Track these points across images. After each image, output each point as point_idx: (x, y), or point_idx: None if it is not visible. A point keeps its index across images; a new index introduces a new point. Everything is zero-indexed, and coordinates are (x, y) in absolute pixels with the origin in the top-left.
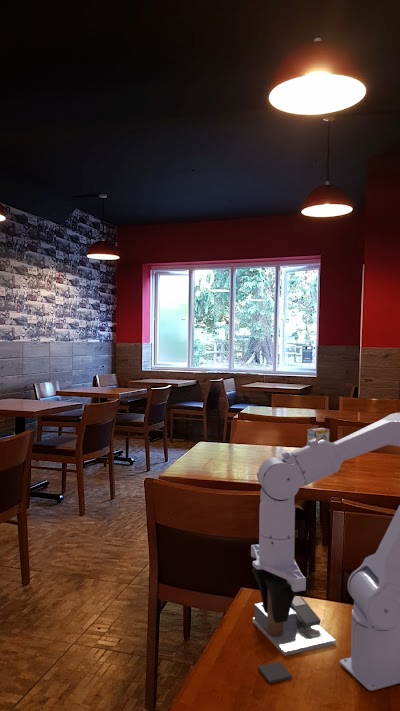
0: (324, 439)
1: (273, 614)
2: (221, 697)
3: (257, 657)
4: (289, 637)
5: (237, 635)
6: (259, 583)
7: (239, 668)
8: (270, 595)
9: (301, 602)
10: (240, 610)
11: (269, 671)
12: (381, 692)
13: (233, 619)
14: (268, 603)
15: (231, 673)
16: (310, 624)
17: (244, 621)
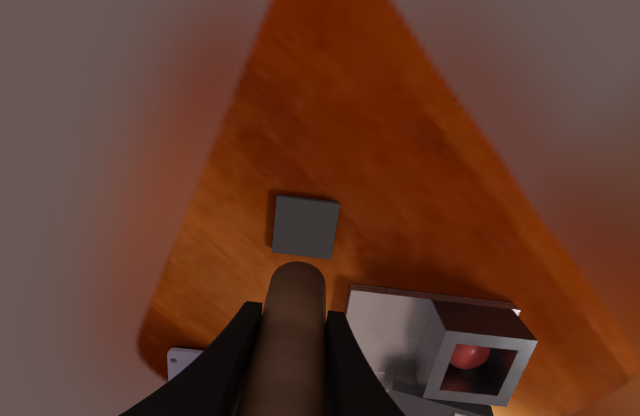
0: None
1: (244, 317)
2: (284, 46)
3: (381, 227)
4: (392, 331)
5: (491, 237)
6: (367, 413)
7: (366, 161)
8: (223, 385)
9: None
10: (581, 306)
11: (309, 217)
12: (164, 360)
13: (560, 269)
14: (292, 345)
15: (359, 130)
16: (389, 394)
17: (531, 287)
